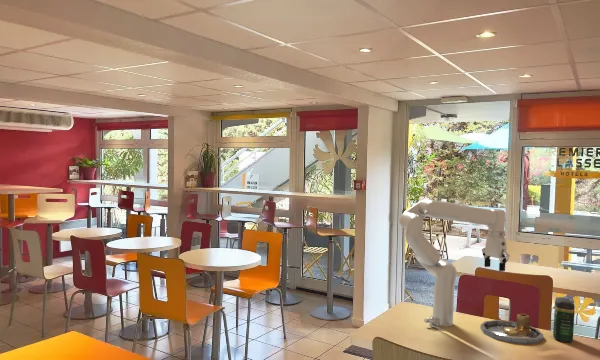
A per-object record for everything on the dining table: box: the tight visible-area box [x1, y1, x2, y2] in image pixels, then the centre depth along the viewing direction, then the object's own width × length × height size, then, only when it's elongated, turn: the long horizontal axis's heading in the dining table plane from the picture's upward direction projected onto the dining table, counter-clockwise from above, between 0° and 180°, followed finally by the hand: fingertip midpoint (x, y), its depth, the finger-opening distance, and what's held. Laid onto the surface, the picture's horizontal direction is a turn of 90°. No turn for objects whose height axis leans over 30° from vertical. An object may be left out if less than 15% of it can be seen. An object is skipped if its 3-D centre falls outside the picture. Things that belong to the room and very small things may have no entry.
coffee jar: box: [552, 297, 576, 343], centre depth 213 cm, size 10×8×19 cm
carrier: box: [480, 319, 544, 345], centre depth 214 cm, size 25×25×6 cm
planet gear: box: [515, 313, 531, 335], centre depth 216 cm, size 7×7×8 cm
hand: (494, 268), depth 228 cm, fingers open, 9 cm apart
